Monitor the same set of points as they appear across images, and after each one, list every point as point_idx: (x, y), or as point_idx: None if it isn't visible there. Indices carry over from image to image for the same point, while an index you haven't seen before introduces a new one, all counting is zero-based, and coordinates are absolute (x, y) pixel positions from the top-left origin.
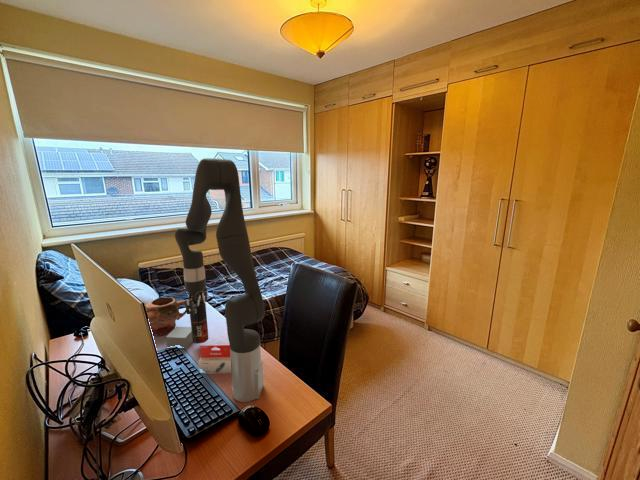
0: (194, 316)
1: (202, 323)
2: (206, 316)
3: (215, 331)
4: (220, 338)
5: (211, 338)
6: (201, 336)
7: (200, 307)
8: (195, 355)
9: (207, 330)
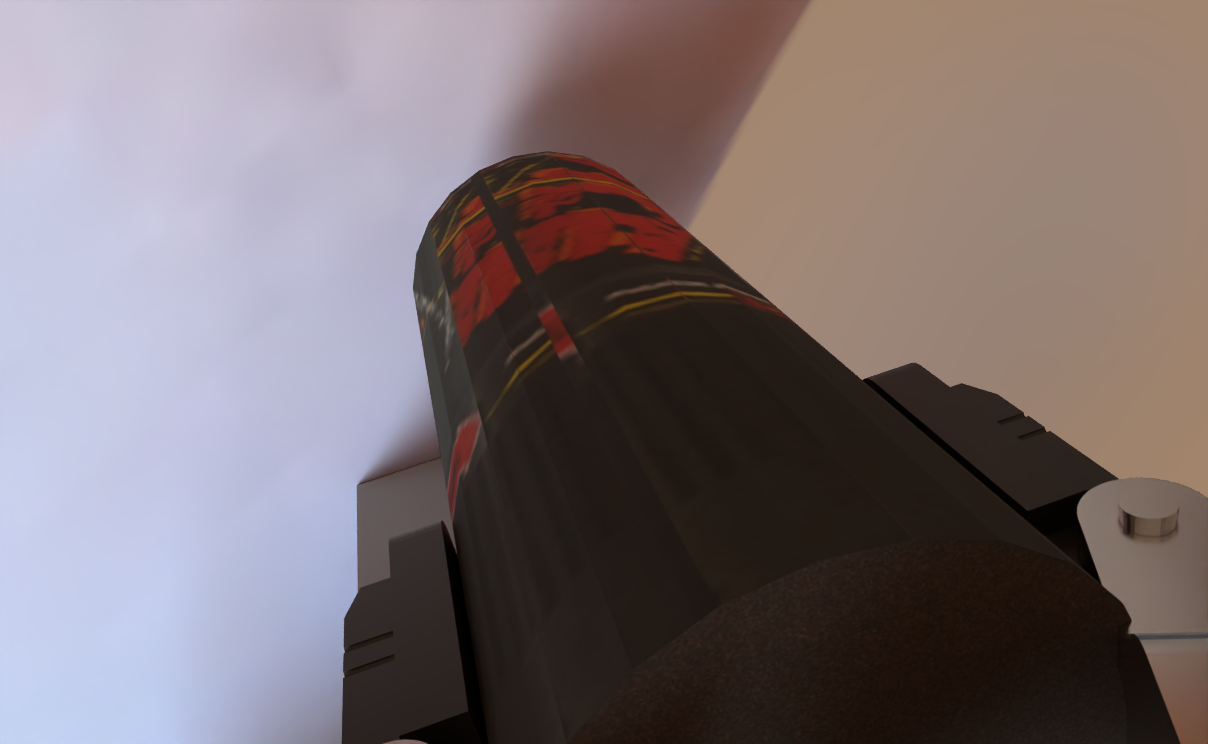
0: (1089, 459)
1: (727, 280)
2: (556, 349)
3: (41, 349)
4: (181, 110)
5: (259, 260)
6: (666, 213)
7: (1059, 558)
8: (716, 173)
9: (513, 211)
